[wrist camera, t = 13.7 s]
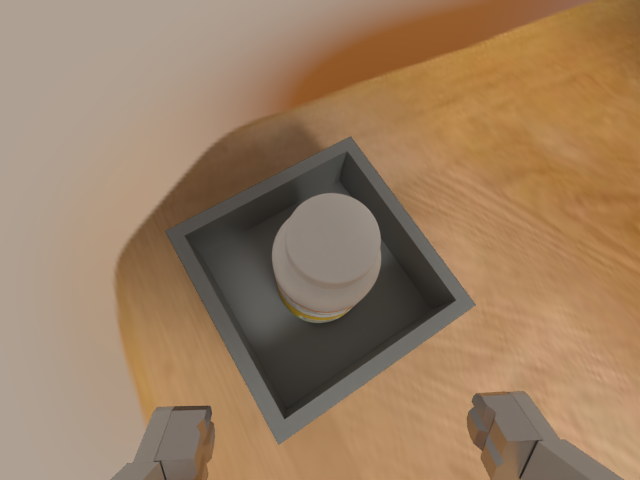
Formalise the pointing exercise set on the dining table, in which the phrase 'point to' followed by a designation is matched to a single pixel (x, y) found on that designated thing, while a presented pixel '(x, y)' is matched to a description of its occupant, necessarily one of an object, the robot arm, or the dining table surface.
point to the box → (292, 332)
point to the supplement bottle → (326, 257)
